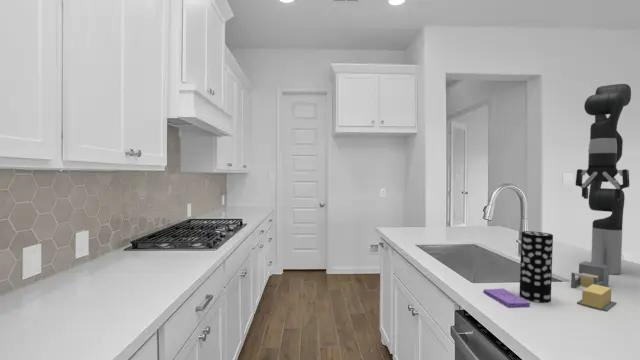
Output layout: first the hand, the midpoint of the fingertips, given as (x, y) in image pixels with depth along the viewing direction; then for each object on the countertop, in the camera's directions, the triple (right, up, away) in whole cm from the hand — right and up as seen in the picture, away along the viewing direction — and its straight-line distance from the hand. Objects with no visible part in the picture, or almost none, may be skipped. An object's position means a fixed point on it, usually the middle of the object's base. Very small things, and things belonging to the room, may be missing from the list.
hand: (600, 199), depth 119 cm
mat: (-14, -30, -16) cm, 37 cm away
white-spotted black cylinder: (-30, -30, -12) cm, 44 cm away
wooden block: (-14, -30, -16) cm, 37 cm away
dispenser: (-4, -30, 0) cm, 30 cm away
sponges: (-40, -31, -13) cm, 52 cm away
